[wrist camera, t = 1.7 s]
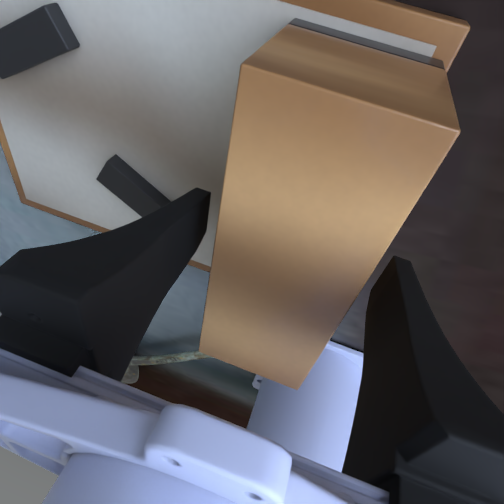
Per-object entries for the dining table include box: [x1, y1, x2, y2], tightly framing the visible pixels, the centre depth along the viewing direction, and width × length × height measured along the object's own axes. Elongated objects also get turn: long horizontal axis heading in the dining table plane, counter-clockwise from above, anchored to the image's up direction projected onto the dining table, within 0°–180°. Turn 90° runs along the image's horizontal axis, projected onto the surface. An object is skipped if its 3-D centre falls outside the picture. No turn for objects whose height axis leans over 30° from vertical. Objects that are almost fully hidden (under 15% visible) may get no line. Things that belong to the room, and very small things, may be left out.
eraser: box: [199, 18, 460, 390], centre depth 14 cm, size 13×5×6 cm, turn 169°
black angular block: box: [96, 154, 171, 217], centre depth 19 cm, size 4×2×1 cm, turn 49°
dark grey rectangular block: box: [0, 3, 80, 79], centre depth 15 cm, size 4×2×1 cm, turn 109°
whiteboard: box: [0, 0, 470, 272], centre depth 17 cm, size 15×20×1 cm
